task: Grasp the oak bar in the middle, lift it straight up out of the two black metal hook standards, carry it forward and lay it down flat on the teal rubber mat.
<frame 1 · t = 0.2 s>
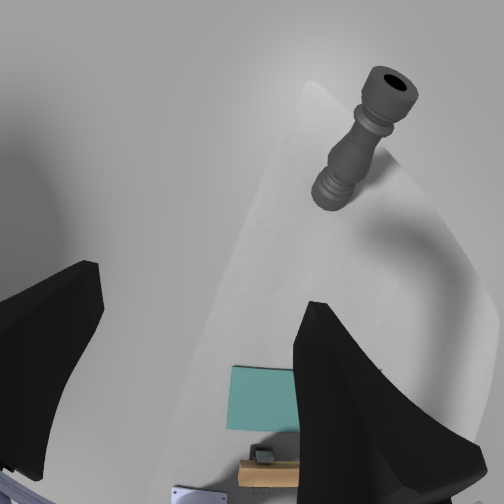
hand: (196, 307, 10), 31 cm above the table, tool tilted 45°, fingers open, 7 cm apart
candle holder: (328, 195, 48), on the table
hook standards: (301, 461, 34), on the table
oak bar: (307, 469, 31), point 3 cm above the table, touching hook standards
teal mat: (308, 401, 37), on the table
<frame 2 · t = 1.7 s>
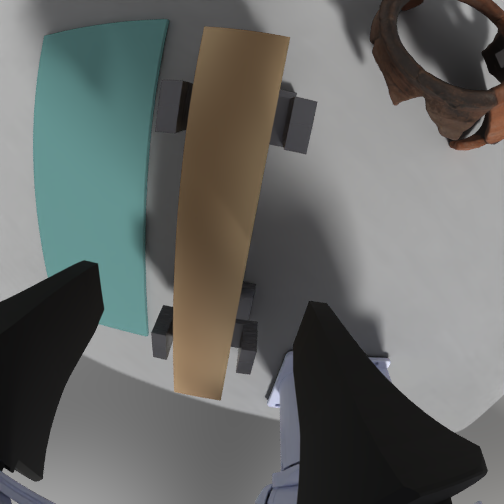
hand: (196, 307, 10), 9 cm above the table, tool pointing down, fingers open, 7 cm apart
pottery mug: (444, 68, 12), on the table
hook standards: (226, 213, 17), on the table
oak bar: (218, 239, 14), point 3 cm above the table, touching hook standards
teal mat: (85, 193, 17), on the table
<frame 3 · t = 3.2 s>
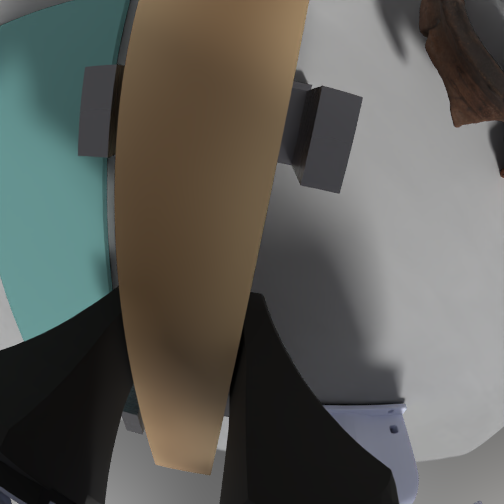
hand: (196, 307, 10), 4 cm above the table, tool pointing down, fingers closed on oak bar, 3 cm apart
pottery mug: (497, 75, 8), on the table
hook standards: (212, 254, 13), on the table
oak bar: (197, 305, 10), point 3 cm above the table, touching gripper, hook standards
teal mat: (38, 223, 12), on the table
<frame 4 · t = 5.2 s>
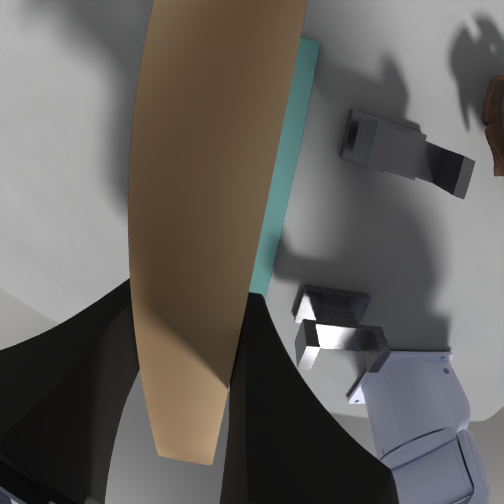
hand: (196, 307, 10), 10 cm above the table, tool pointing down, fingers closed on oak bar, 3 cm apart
hook standards: (357, 233, 18), on the table
oak bar: (200, 295, 10), point 9 cm above the table, touching gripper
teal mat: (210, 206, 18), on the table
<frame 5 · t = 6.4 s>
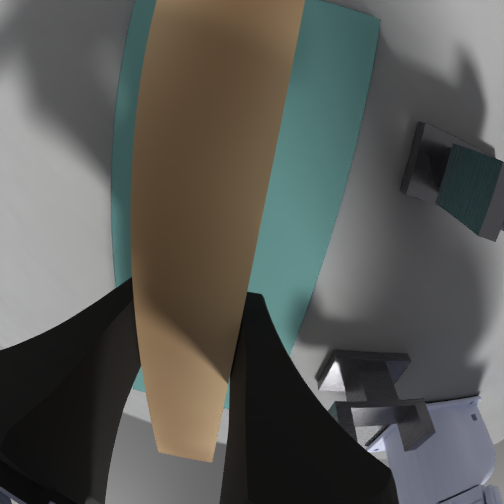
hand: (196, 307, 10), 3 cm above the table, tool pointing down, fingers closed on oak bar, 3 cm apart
hook standards: (408, 289, 13), on the table
oak bar: (201, 291, 10), point 3 cm above the table, touching gripper
teal mat: (212, 257, 13), on the table
when the fingers open (2 cm above the table, at t = 7.4 s): oak bar stays where it is, resting on teal mat.
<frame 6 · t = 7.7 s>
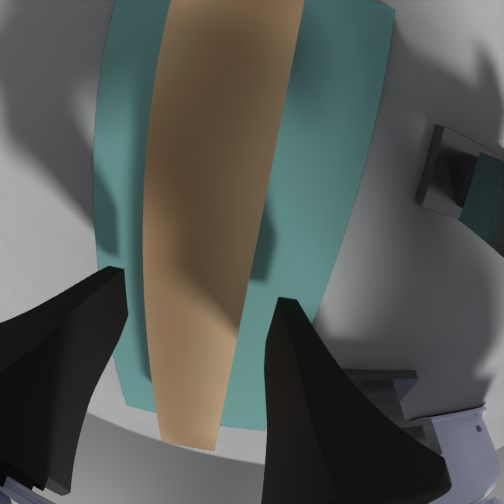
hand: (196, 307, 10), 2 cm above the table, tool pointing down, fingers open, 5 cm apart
hook standards: (419, 306, 12), on the table
oak bar: (205, 279, 11), resting on teal mat
teal mat: (206, 274, 11), on the table
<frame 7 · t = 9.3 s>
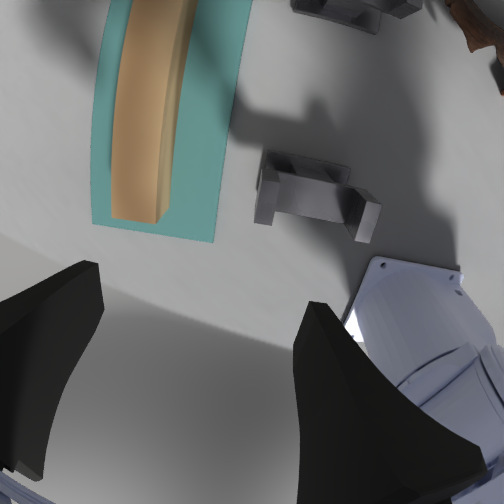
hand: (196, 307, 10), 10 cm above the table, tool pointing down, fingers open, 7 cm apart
pottery mug: (489, 34, 11), on the table
hook standards: (323, 87, 15), on the table
oak bar: (162, 64, 14), resting on teal mat
teal mat: (164, 66, 14), on the table
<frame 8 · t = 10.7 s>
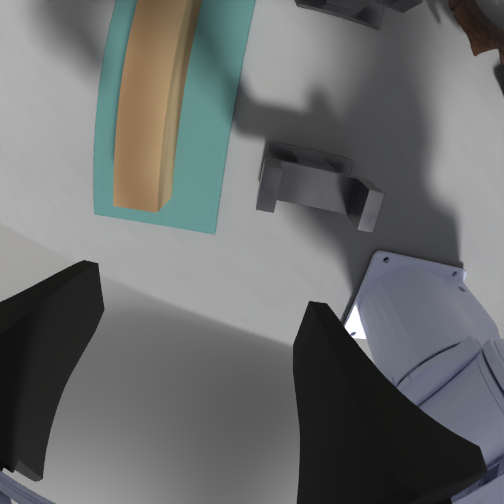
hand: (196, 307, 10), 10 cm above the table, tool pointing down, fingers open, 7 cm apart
pottery mug: (493, 37, 11), on the table
hook standards: (327, 80, 15), on the table
oak bar: (167, 55, 14), resting on teal mat
teal mat: (169, 57, 14), on the table
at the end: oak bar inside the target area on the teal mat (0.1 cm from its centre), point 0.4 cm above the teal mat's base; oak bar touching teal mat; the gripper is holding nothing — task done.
